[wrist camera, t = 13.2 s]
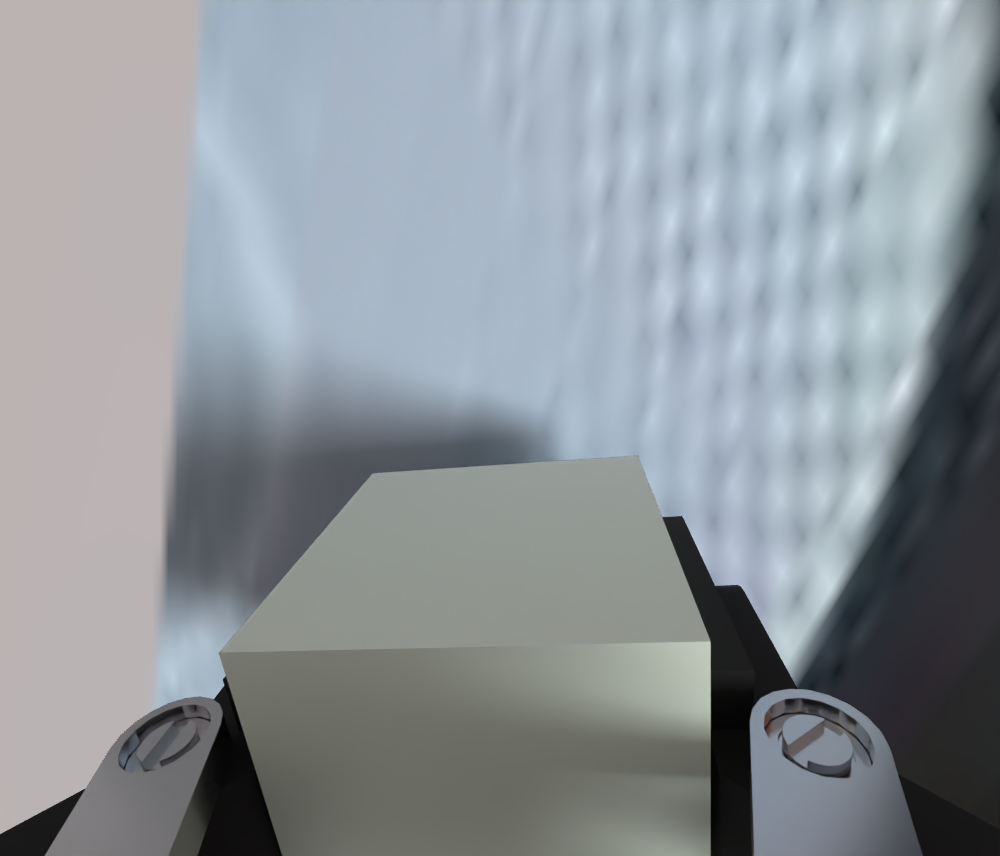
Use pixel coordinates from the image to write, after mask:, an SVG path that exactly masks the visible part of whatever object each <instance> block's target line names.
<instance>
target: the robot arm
mask: <svg viewBox="0 0 1000 856" xmlns="http://www.w3.org/2000/svg"><path fill="white" fill-rule="evenodd" d="M662 518H663V521H664V523H665V526H666V528H667V531H668V534H669V536H670V539H671V541H672V544H673V546H674V549H675V552H676V554H677V557H678V559H679V562H680V564H681V567H682V569H683V572H684V575H685V577H686V580H687V582H688V585H689V587H690V590H691V592H692V595H693V598H694V600H695V603H696V605H697V608H698V610H699V613H700V616H701V618H702V621H703V623H704V626H705V628H706V631H707V633H708V636H709V639H710V641H711V856H1000V829H998V828H996V827H994V826H992V825H991V824H989V823H987V822H985V821H983V820H981V819H979V818H978V817H976V816H974V815H972V814H970V813H968V812H967V811H965V810H963V809H961V808H959V807H957V806H956V805H954V804H952V803H950V802H948V801H946V800H945V799H943V798H941V797H939V796H937V795H935V794H933V793H932V792H930V791H928V790H926V789H924V788H922V787H921V786H919V785H917V784H915V783H913V782H911V781H910V780H908V779H906V778H904V777H902V776H900V775H899V774H898V773H897V770H896V766H895V763H894V760H893V757H892V753H891V750H890V748H889V746H888V744H887V742H886V740H885V738H884V736H883V734H882V732H881V731H880V730H879V729H878V728H877V727H876V726H875V725H874V724H873V723H872V722H871V721H870V720H869V718H868V717H866V716H865V715H863V714H862V713H860V712H859V711H858V710H856V709H855V708H853V707H852V706H851V705H849V704H847V703H844V702H842V701H840V700H838V699H836V698H834V697H832V696H829V695H825V694H822V693H818V692H814V691H811V690H800V689H797V687H796V685H795V683H794V682H793V680H792V678H791V676H790V674H789V672H788V671H787V669H786V667H785V665H784V663H783V661H782V660H781V658H780V656H779V654H778V652H777V651H776V649H775V647H774V645H773V643H772V641H771V640H770V638H769V636H768V634H767V632H766V630H765V629H764V627H763V625H762V623H761V621H760V619H759V618H758V616H757V614H756V612H755V610H754V609H753V607H752V605H751V603H750V601H749V599H748V598H747V596H746V594H745V592H744V591H743V589H742V588H741V586H738V585H727V586H715V585H714V583H713V581H712V579H711V576H710V574H709V572H708V570H707V568H706V566H705V564H704V561H703V559H702V557H701V555H700V553H699V551H698V549H697V547H696V544H695V542H694V540H693V538H692V536H691V534H690V532H689V529H688V527H687V525H686V523H685V521H684V519H683V517H682V516H677V517H662ZM223 682H224V685H225V686H224V687H223V688H222V690H221V691H220V692H219V693H218V695H217V696H216V697H215V699H214V700H213V699H211V698H206V697H191V698H184V699H181V700H178V701H174V702H171V703H168V704H166V705H164V706H162V707H160V708H158V709H156V710H154V711H152V712H150V713H149V714H147V715H145V716H144V717H143V718H141V719H140V720H138V721H137V722H135V723H134V724H133V725H132V726H130V727H129V728H128V729H127V730H126V731H125V732H124V733H123V734H122V735H120V737H119V738H118V739H117V741H116V742H115V743H114V744H113V746H112V747H111V748H110V750H109V751H108V753H107V755H106V756H105V758H104V760H103V761H102V763H101V764H100V766H99V768H98V769H97V771H96V773H95V774H94V776H93V778H92V779H91V781H90V782H89V784H88V786H87V788H86V789H84V790H82V791H80V792H78V793H76V794H75V795H73V796H71V797H69V798H67V799H65V800H63V801H61V802H59V803H58V804H56V805H54V806H52V807H50V808H48V809H47V810H45V811H43V812H41V813H39V814H37V815H35V816H33V817H32V818H30V819H28V820H26V821H24V822H22V823H20V824H19V825H16V826H15V827H13V828H11V829H9V830H7V831H5V832H3V833H2V834H0V856H282V853H281V850H280V847H279V844H278V840H277V837H276V834H275V831H274V828H273V824H272V821H271V818H270V815H269V812H268V808H267V805H266V802H265V799H264V796H263V792H262V789H261V786H260V783H259V780H258V776H257V773H256V770H255V767H254V764H253V760H252V757H251V754H250V751H249V748H248V744H247V741H246V738H245V735H244V732H243V728H242V725H241V722H240V719H239V716H238V712H237V709H236V706H235V703H234V700H233V696H232V693H231V690H230V687H229V684H228V680H227V677H226V676H225V678H224V679H223Z"/></svg>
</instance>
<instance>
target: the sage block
mask: <svg viewBox="0 0 1000 856" xmlns="http://www.w3.org/2000/svg"><path fill="white" fill-rule="evenodd" d="M219 655H220V658H221V661H222V664H223V668H224V671H225V674H226V677H227V680H228V684H229V687H230V690H231V693H232V696H233V700H234V703H235V706H236V709H237V712H238V716H239V719H240V722H241V725H242V728H243V732H244V735H245V738H246V741H247V744H248V748H249V751H250V754H251V757H252V760H253V764H254V767H255V770H256V773H257V776H258V780H259V783H260V786H261V789H262V792H263V796H264V799H265V802H266V805H267V808H268V812H269V815H270V818H271V821H272V824H273V828H274V831H275V834H276V837H277V840H278V844H279V847H280V850H281V853H282V856H711V641H710V639H709V636H708V633H707V631H706V628H705V626H704V623H703V621H702V618H701V616H700V613H699V610H698V608H697V605H696V603H695V600H694V598H693V595H692V592H691V590H690V587H689V585H688V582H687V580H686V577H685V575H684V572H683V569H682V567H681V564H680V562H679V559H678V557H677V554H676V552H675V549H674V546H673V544H672V541H671V539H670V536H669V534H668V531H667V528H666V526H665V523H664V521H663V518H662V516H661V513H660V511H659V508H658V505H657V503H656V500H655V498H654V495H653V493H652V490H651V487H650V485H649V482H648V480H647V477H646V475H645V472H644V470H643V467H642V464H641V462H640V459H639V457H638V455H637V456H623V457H608V458H593V459H578V460H563V461H548V462H533V463H519V464H504V465H489V466H474V467H459V468H444V469H429V470H415V471H400V472H385V473H372V475H371V476H370V477H369V478H368V479H367V480H366V482H365V483H364V484H363V485H362V486H361V487H360V489H359V490H358V491H357V492H356V493H355V494H354V496H353V497H352V498H351V499H350V500H349V501H348V503H347V504H346V505H345V506H344V507H343V508H342V510H341V511H340V512H339V513H338V514H337V515H336V517H335V518H334V519H333V520H332V521H331V522H330V524H329V525H328V526H327V527H326V528H325V529H324V531H323V532H322V533H321V534H320V535H319V536H318V538H317V539H316V540H315V541H314V542H313V543H312V545H311V546H310V547H309V548H308V549H307V550H306V552H305V553H304V554H303V555H302V556H301V557H300V559H299V560H298V561H297V562H296V563H295V564H294V566H293V567H292V568H291V569H290V570H289V571H288V573H287V574H286V575H285V576H284V577H283V578H282V580H281V581H280V582H279V583H278V584H277V585H276V587H275V588H274V589H273V590H272V591H271V592H270V594H269V595H268V596H267V597H266V598H265V599H264V601H263V602H262V603H261V604H260V605H259V606H258V608H257V609H256V610H255V611H254V612H253V613H252V615H251V616H250V617H249V618H248V619H247V620H246V622H245V623H244V624H243V625H242V626H241V627H240V629H239V630H238V631H237V632H236V633H235V634H234V636H233V637H232V638H231V639H230V640H229V641H228V643H227V644H226V645H225V646H224V647H223V648H222V650H221V651H220V652H219Z"/></svg>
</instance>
